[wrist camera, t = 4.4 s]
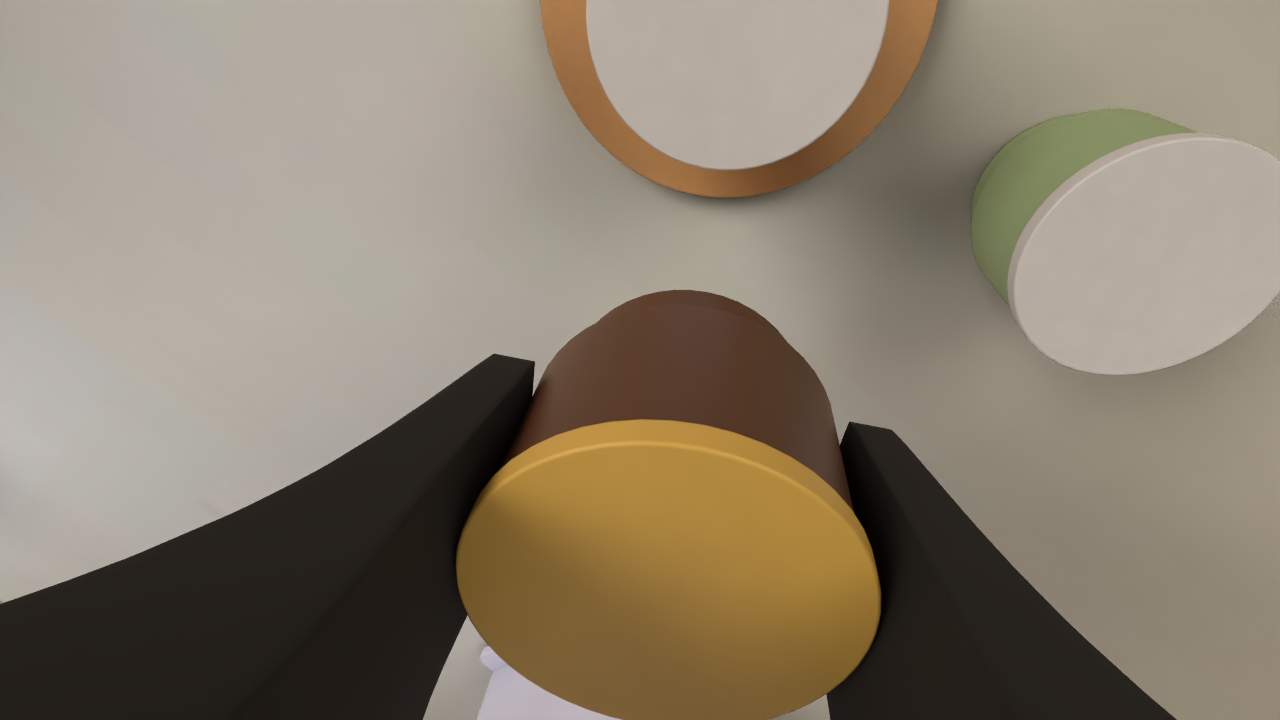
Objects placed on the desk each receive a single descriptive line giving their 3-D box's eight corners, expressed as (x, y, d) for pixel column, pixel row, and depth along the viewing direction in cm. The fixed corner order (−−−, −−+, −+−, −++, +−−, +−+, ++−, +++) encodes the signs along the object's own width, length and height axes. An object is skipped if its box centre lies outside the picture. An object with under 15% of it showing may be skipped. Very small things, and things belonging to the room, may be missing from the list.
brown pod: (653, 530, 13) (621, 761, 9) (488, 354, 11) (369, 551, 7) (882, 430, 11) (958, 668, 7) (728, 199, 9) (724, 360, 6)
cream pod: (701, 160, 16) (692, 221, 12) (579, -23, 14) (525, -16, 10) (887, 31, 14) (943, 57, 10) (772, -197, 12) (789, -264, 9)
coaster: (684, 252, 18) (682, 260, 17) (469, -44, 15) (459, -44, 14) (1001, 50, 14) (1011, 53, 14) (809, -385, 11) (812, -402, 11)
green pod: (995, 317, 18) (1064, 412, 14) (918, 171, 16) (973, 235, 12) (1194, 222, 16) (1334, 302, 12) (1131, 46, 14) (1271, 76, 10)
